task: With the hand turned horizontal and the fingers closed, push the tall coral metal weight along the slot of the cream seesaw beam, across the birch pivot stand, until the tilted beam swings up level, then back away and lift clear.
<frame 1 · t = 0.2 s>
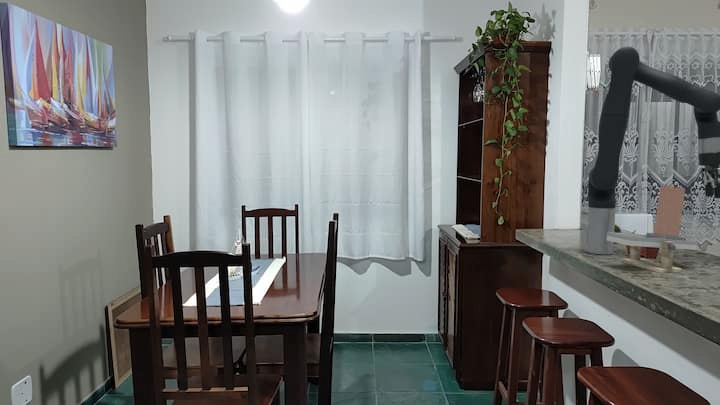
hand: (713, 197, 173), 22 cm above the countertop, tool pointing down, fingers open, 8 cm apart
pivot stand: (649, 266, 164), on the countertop
potato: (607, 241, 212), on the countertop
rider: (665, 241, 165), point 8 cm above the countertop, tilted 5°, touching beam
beam: (651, 240, 163), point 9 cm above the countertop, hinge at -5.3°, touching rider
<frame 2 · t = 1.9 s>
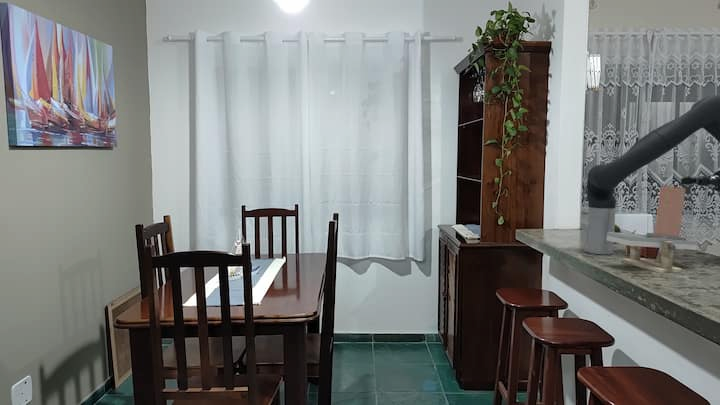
hand: (690, 181, 165), 28 cm above the countertop, tool horizontal, fingers open, 5 cm apart
nothing on the countertop moved.
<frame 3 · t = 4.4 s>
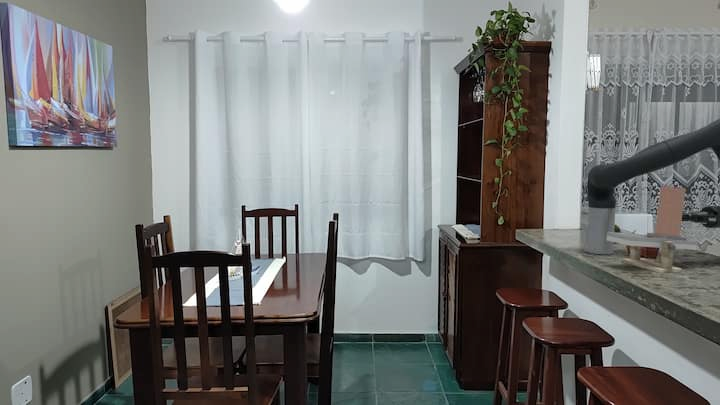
hand: (676, 217, 164), 16 cm above the countertop, tool horizontal, fingers closed
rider: (665, 241, 165), point 8 cm above the countertop, tilted 5°, touching beam, gripper
everything else where it was.
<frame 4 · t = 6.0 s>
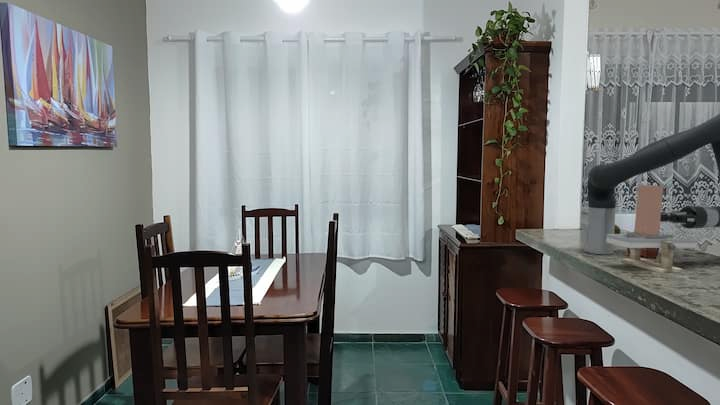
hand: (655, 218, 162), 16 cm above the countertop, tool horizontal, fingers closed
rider: (645, 240, 163), point 9 cm above the countertop, touching beam
beam: (651, 240, 163), point 9 cm above the countertop, hinge at -2.2°, touching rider
everything else where it was.
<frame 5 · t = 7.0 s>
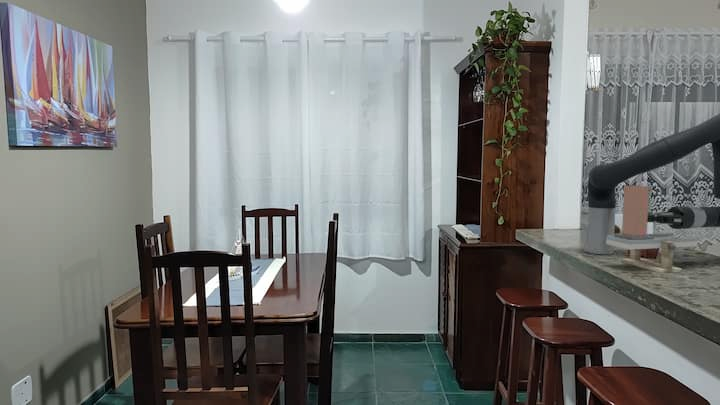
hand: (642, 218, 161), 16 cm above the countertop, tool horizontal, fingers closed
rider: (633, 240, 162), point 9 cm above the countertop, touching gripper
beam: (651, 240, 163), point 9 cm above the countertop, hinge at 0.2°
everything else where it was.
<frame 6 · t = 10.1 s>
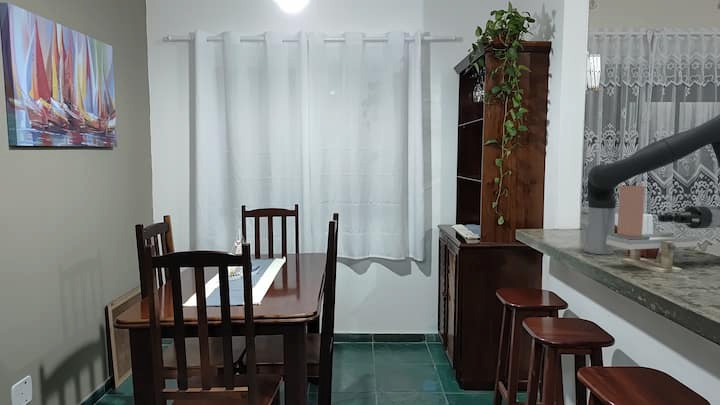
hand: (660, 218, 163), 16 cm above the countertop, tool horizontal, fingers closed
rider: (629, 241, 161), point 9 cm above the countertop, touching beam
beam: (651, 240, 163), point 9 cm above the countertop, hinge at 0.2°, touching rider
everything else where it was.
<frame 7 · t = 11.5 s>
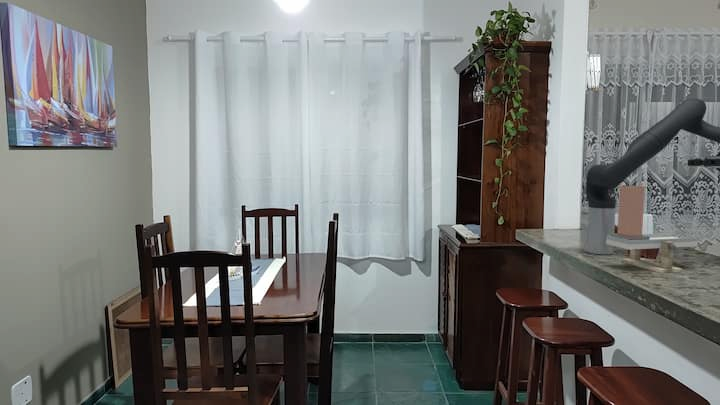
hand: (689, 162, 166), 34 cm above the countertop, tool horizontal, fingers closed
nothing on the countertop moved.
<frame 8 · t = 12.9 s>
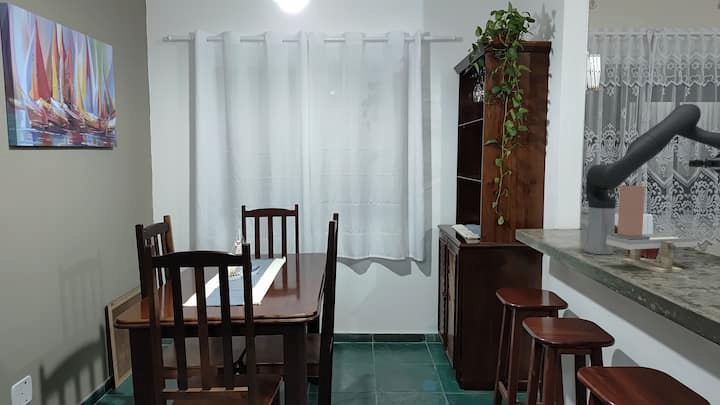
hand: (691, 163, 168), 34 cm above the countertop, tool horizontal, fingers closed
nothing on the countertop moved.
at the end: beam at +0° (first picture: -5°); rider 1.5 cm from the target spot on the beam, point 0.8 cm above the beam's base; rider tilted 0° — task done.
